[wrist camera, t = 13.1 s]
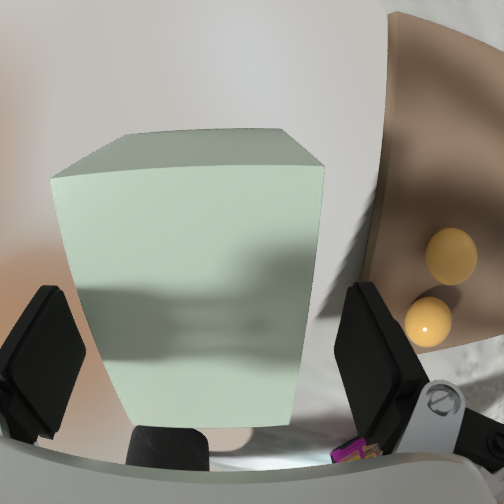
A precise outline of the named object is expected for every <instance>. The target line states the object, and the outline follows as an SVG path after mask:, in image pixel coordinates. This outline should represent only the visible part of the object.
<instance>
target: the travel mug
mask: <svg viewBox="0 0 504 504" xmlns="http://www.w3.org/2000/svg"><path fill="white" fill-rule="evenodd" d="M125 465H131V466H139V467H147V468H157V469H169V470H184V471H209V446H208V441H207V439H206V437H205V436H204V435H203V434H202V433H201V432H199V431H197V430H195V429H193V428H175V427H156V426H143V425H138V426H136V427H135V428H134V430H133V432H132V435H131V440H130V444H129V449H128V453H127V458H126V464H125Z"/></svg>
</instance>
